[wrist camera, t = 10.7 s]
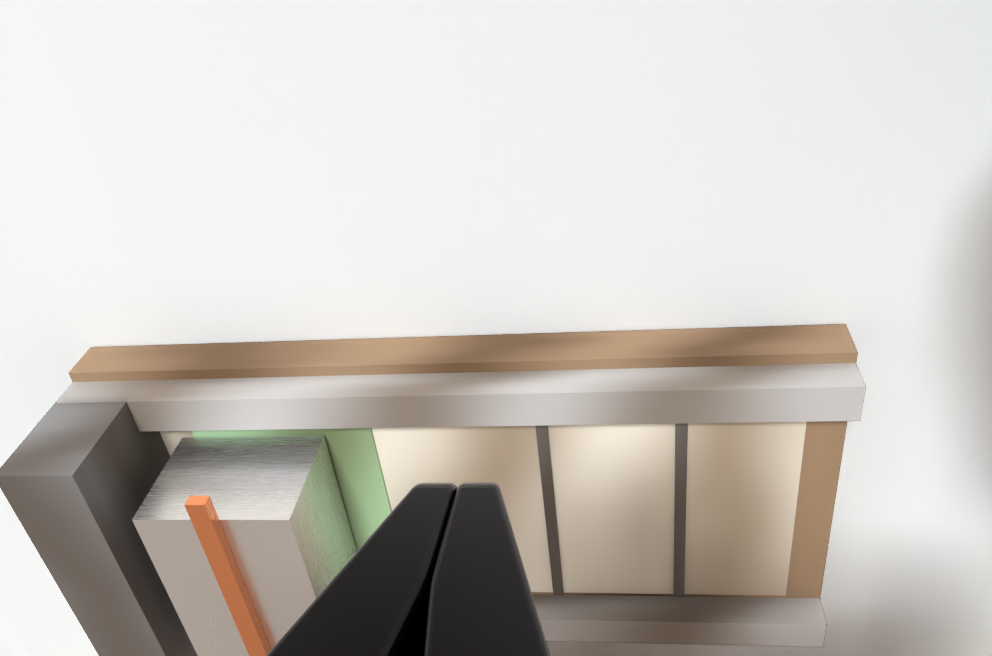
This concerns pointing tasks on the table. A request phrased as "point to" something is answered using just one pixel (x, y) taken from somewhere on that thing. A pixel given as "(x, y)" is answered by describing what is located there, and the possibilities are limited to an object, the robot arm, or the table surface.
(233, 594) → the block
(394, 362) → the gauge track
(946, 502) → the table surface
